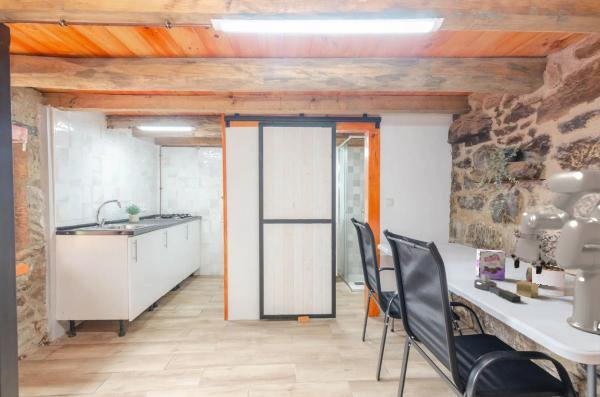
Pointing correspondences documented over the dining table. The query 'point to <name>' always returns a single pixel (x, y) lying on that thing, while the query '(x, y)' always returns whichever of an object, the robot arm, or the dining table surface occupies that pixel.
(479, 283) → the ratchet
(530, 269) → the tin
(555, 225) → the robot arm
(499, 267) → the candy box
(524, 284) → the tan cube
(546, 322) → the dining table surface
